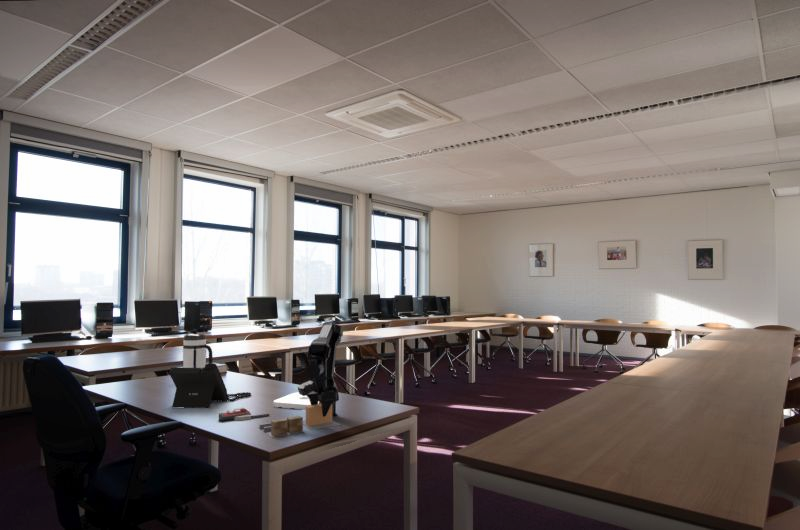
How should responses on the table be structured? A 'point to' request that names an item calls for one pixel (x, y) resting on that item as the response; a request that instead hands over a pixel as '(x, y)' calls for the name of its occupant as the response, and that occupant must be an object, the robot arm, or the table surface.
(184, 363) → the coffee press
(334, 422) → the mat
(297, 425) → the offcut
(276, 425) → the offcut
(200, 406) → the office phone
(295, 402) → the white plate
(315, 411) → the light brown flat block
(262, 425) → the rack
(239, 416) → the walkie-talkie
